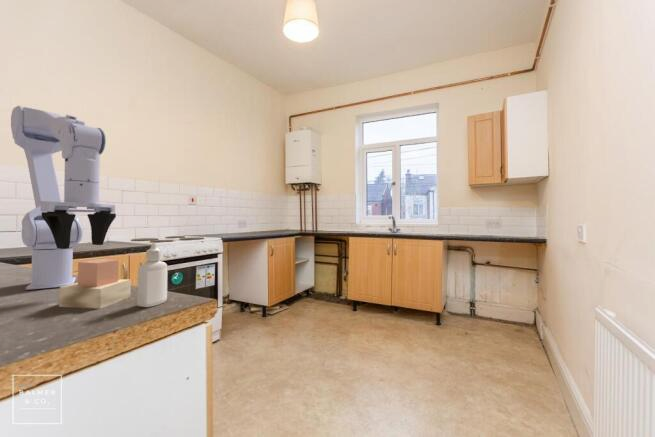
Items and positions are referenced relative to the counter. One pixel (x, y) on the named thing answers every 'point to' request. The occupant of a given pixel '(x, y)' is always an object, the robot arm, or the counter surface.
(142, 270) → the eye dropper bottle
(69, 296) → the birch block
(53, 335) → the counter surface
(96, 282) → the terracotta cube
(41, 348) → the counter surface
